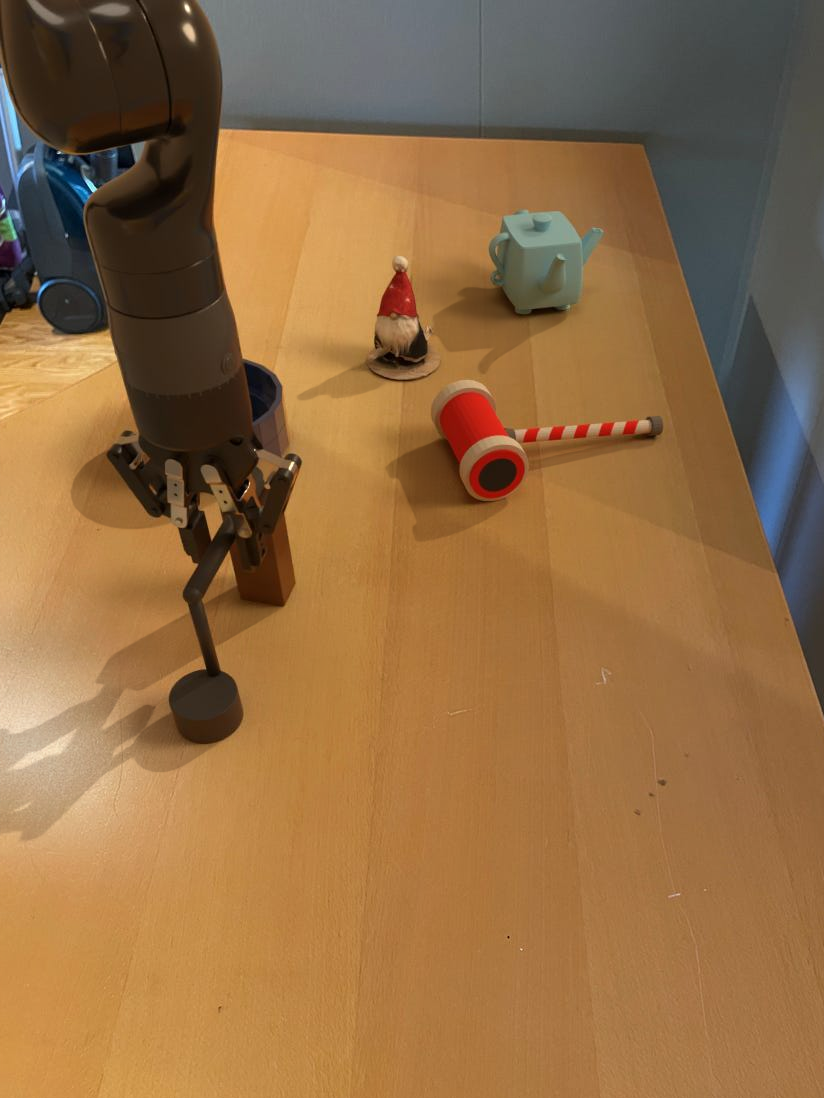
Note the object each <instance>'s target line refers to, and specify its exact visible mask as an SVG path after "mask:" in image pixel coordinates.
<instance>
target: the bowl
mask: <svg viewBox="0 0 824 1098" xmlns="http://www.w3.org/2000/svg"><path fill="white" fill-rule="evenodd" d="M243 363H244V369H245V374H246V380H247V385H248V391H249V396H250V402H251V408H252V422H253V429H254V431H255V433H256V434H257V436H258V437H259V438H260V440H261V441H262V444H263V447H264V450H266V451H268V452H270V453H272V454H274V455H277V456H279V457H281V458H283V456H284V454H285V452H286V451H287V449H288V447H289V445H290V427H289V422H288V421H289V420H288V415H287V413H288V412H287V407H286V400H285V394H284V388H283V387H284V386H283V384H282V383H281V381H280V380H279V377H278V376H277V374H276V373H274V372H273V371H271V369H269V368H267V367H266V366H265V365H263V364H261V363H257V362H255V361H252V360H250V359H246V358H243ZM129 408H130V411H131V412H132V410H131V406H130V405H129ZM131 415H132V418H133V419H134V417H133V414H132V413H131ZM133 422H134V425H135V429H136V432H137V434H140V433H139V431H138V429H137V427H136V424H135V421H134V420H133ZM160 470H161V469H160ZM161 471H162V470H161ZM162 473H163V474H164V475H165V477H166V478H167V475H166V474H165V473H164V472H163V471H162Z"/></svg>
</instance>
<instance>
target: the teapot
mask: <svg viewBox="0 0 824 1098" xmlns="http://www.w3.org/2000/svg"><path fill="white" fill-rule="evenodd" d="M603 236H604V230H603V229H602V228H598V227H591V229H589V231H587V233H585V235H584V236H583V237H580V235H579V233H578V232H577V230H576V229H575V227H574V226H573V224H572V222H570V221H569V219H568V218H567V217H566V216H565V215H564V214H563V213H562V212H561V211H559V210H552V211H539V212H530V213H529V210H528V209H520V210H517V211H516V212H514V213H513V214H509V215H504V216H503V217H502V219H501V225H500V229H499V233H498V234H496V235H495V236H494V237H492V239H491V240H490V242H489V245H488V254H489V257H490V259H491V262H492V263H493V265H494V267H495V268H496V269H495V270H493V271H492V272H491V274H490V282H491V284H492V285H494V286H496V287H501V288H502V291H503V292H504V294H505V295H506V297H507V298H508V299H509V302H511V304H512V305H513V307H515V308H514V311H515V313H516V314H518V315H528V314H530V313H532V310H534V309H535V310H536V309H546V308H553V307H554V308H555V309H556V310H559V311H566V310H569V309H570V308H571V305H576V304H578V303H579V301H580V298H581V295H582V291H583V280H584V279H583V278H584V274H583V273H584V267H585V265H586V264H587V262H588V260H589V259H590V256H592V254H593V252H594V251H595V249H596V247H597V245H599V242H600V241H601V239H602V237H603ZM496 248H497V252H496ZM497 277H498V278H497Z"/></svg>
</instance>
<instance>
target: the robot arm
mask: <svg viewBox="0 0 824 1098" xmlns="http://www.w3.org/2000/svg"><path fill="white" fill-rule="evenodd" d="M212 27H213V26H212V25H211V23H210V21H209V18H208V16H207V14H206V13H205V11H204V9H203V8H202V6H201V5H200V3H199V2H198V0H0V66H1V71H2V75H3V79H4V83H5V87H6V89H7V93H8V96H9V99H10V101H11V103H12V106H13V108H14V110H15V112H16V113H17V115H18V117H19V118H20V120H21V121H22V123H23V124H24V125H25V126H26V128H27V129H28V130H29V131H30V132H31V133H32V134H33V135H34V136H35V137H36V138H37V139H39V140H40V141H41V142H43V143H44V144H46V145H47V146H48V147H50V148H52V149H54V150H56V151H57V152H60V153H62V154H65V155H69V156H87V155H92V154H97V153H101V152H102V153H103V152H106V151H109V150H113V149H117V148H122V147H126V146H131V145H135V144H140V143H143V142H144V144H143V149H142V152H141V155H140V157H139V158H138V160H137V161H136V162H135V163H134V164H133V166H131V167H130V168H129V169H127V170H126V171H124V172H123V173H121V174H119V175H118V176H116V177H114V178H113V179H110V180H109V181H107V182H106V183H104V184H103V185H101V186H99V187H98V188H97V189H96V190H95V191H93V192H92V193H91V194H90V196H88V198H87V200H86V202H85V203H84V207H83V211H82V212H83V213H82V214H83V215H82V217H83V225H84V230H85V234H86V238H87V242H88V246H89V249H90V252H91V255H92V260H93V263H94V266H95V270H96V274H97V277H98V281H99V284H100V287H101V291H102V296H103V298H104V303H105V307H106V315H107V321H108V322H107V323H108V329H109V334H110V339H111V341H112V343H111V344H112V346H113V351H114V355H115V357H116V360H117V364H118V367H119V371H120V374H121V378H122V381H123V386H124V388H125V392H126V395H127V400H128V403H129V407H130V406H131V408H130V411H131V410H132V411H131V415H132V414H133V415H132V418H133V417H134V418H133V422H134V421H135V422H134V425H135V424H136V426H135V428H136V427H137V429H138V431H139V433H140V434H138V433H137V434H136V433H135V432H133V431H132V430H129V429H127V430H124V431H122V433H121V434H120V435H119V436H118V437H117V439H115V441H114V442H113V443H112V445H111V447H110V448H109V449H108V450H107V452H106V458H107V459H108V461H109V462H110V463H111V466H112V467H114V469H115V470H116V472H117V473H118V474H119V476H120V477H121V479H122V480H123V481H124V483H125V484H126V485H127V487H128V488H129V489H130V491H131V492H132V493H133V495H134V497H135V498H136V499H137V501H138V502H139V504H140V505H141V506H142V507H143V509H144V510H145V512H146V513H147V514H148V515H149V516H150V517H152V518H156V519H158V518H161V517H162V516H164V517H166V518H169V519H170V522H171V523H172V524H173V526H175V527H176V528H177V530H178V534H179V537H180V540H181V544H182V549H183V551H184V552H185V554H186V555H187V556H188V557H190V558H191V562H192V563H193V564H194V565H195V564H196V565H198V564H199V562H200V560H201V559H202V557H203V555H204V553H205V552H206V550H207V548H208V546H209V545H210V543H211V541H212V537H211V533H210V529H209V525H208V520H207V517H206V513H205V512H206V511H205V510H201V509H199V507H200V506H201V493H204V494H205V493H206V494H209V495H211V496H214V497H215V499H216V501H217V504H218V507H219V506H220V507H219V509H220V508H221V510H222V512H223V513H224V514H228V515H229V517H230V520H231V522H232V524H233V526H234V528H235V530H236V532H237V534H236V536H235V537H236V542H237V547H238V551H239V556H240V560H241V565H242V569H243V571H246V572H252V573H253V572H254V571H255V569H256V567H259V566H260V564H261V562H262V561H263V559H264V557H265V555H266V552H267V546H266V541H265V535H264V534H267V535H270V534H273V533H274V531H275V529H276V527H277V525H278V523H279V522H280V520H281V518H282V516H283V514H285V512H286V509H287V507H288V504H289V502H290V499H291V496H292V493H293V490H294V487H295V485H296V482H297V479H298V476H299V473H300V471H301V467H302V464H303V461H302V458H301V457H300V456H299V455H297V454H296V453H291V452H290V453H287V454H286V455H285V457H282V458H281V457H279V456H277V455H274V454H272V453H270V452H268V451H266V450H264V447H263V444H262V441H261V440H260V438H259V437H258V436H257V434H256V433H255V431H254V429H253V422H252V408H251V402H250V396H249V391H248V385H247V380H246V374H245V369H244V363H243V359H244V358H243V353H242V347H241V341H240V335H239V330H238V325H237V319H236V315H235V312H234V308H233V305H232V303H231V300H230V297H229V294H228V290H227V286H226V282H225V276H224V270H223V266H222V259H221V255H220V248H219V243H218V237H217V236H218V235H217V231H216V226H215V218H214V217H215V215H214V214H215V212H214V211H215V193H216V192H215V191H216V174H217V173H216V172H217V160H218V159H217V158H218V147H219V138H220V132H221V131H220V130H221V122H222V121H221V120H222V111H223V92H224V91H223V90H224V84H223V83H224V80H223V70H222V69H223V68H222V62H221V61H222V60H221V54H220V50H219V45H218V42H217V41H218V40H217V39H216V35H215V32H214V30H213V28H212ZM137 429H136V430H137ZM255 467H257V468H259V469H260V470H261V471H262V474H263V481H264V483H265V484H264V487H265V488H266V489H270V490H269V493H268V496H267V499H266V502H265V505H264V506H261V505H260V502H259V500H258V498H257V495H256V493H255V489H256V484H255V481H254V478H253V476H252V474H251V472H252V471H253V469H254V468H255ZM160 469H161V470H162V471H163V472H164V473H165V474H166V475H167V478H166V477H165V475H164V474H163V473H162V471H161V470H160ZM151 487H152V488H151ZM152 489H153V490H154V491H155V492H154V491H153V490H152Z"/></svg>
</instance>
